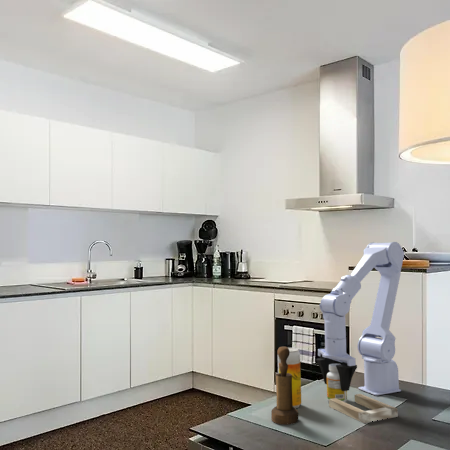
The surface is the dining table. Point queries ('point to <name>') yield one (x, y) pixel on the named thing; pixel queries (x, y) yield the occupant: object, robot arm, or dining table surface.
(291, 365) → the beer can
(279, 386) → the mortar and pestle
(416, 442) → the dining table surface
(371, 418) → the slide channel
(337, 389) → the supplement bottle
